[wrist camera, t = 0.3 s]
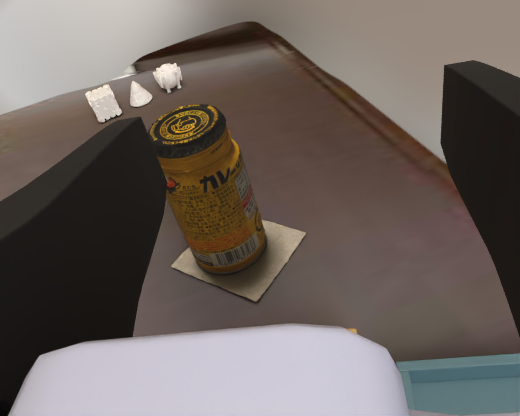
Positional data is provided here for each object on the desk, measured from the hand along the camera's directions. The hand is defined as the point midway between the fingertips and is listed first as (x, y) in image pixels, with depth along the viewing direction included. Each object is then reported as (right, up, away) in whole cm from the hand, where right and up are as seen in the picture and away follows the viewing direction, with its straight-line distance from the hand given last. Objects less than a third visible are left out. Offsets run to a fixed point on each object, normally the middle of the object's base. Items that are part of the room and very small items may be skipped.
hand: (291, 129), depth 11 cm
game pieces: (-16, +12, +49) cm, 53 cm away
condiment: (-2, -6, +26) cm, 27 cm away
